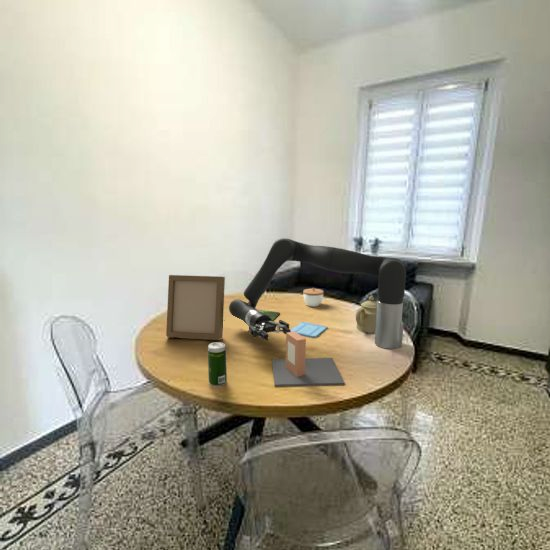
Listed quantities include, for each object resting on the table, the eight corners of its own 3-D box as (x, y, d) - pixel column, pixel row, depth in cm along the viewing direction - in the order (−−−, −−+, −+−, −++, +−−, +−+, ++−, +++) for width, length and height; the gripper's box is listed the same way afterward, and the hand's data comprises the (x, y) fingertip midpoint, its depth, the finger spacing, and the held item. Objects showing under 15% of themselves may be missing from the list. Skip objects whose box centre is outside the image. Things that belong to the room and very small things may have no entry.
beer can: (230, 382, 104) (229, 345, 102) (216, 389, 100) (214, 350, 98) (219, 376, 108) (218, 340, 105) (205, 382, 104) (203, 345, 101)
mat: (332, 359, 120) (332, 357, 120) (344, 384, 103) (344, 382, 103) (271, 360, 118) (271, 359, 118) (274, 386, 102) (274, 384, 102)
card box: (293, 365, 114) (294, 331, 111) (305, 374, 108) (305, 338, 105) (285, 367, 112) (286, 332, 110) (296, 376, 106) (297, 340, 104)
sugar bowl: (381, 338, 139) (384, 302, 135) (354, 334, 142) (355, 299, 139) (383, 326, 152) (385, 293, 149) (357, 323, 156) (359, 291, 153)
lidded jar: (312, 301, 191) (313, 284, 189) (327, 305, 183) (328, 288, 181) (298, 304, 184) (299, 287, 182) (313, 309, 176) (313, 291, 174)
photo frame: (219, 342, 134) (217, 279, 129) (166, 339, 137) (162, 277, 132) (229, 329, 148) (228, 272, 143) (181, 326, 151) (178, 270, 146)
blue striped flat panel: (315, 339, 138) (315, 336, 138) (288, 333, 144) (288, 330, 144) (327, 329, 150) (327, 326, 150) (302, 324, 156) (302, 321, 155)
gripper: (240, 314, 128) (259, 328, 114) (274, 309, 134) (296, 321, 120) (241, 333, 129) (259, 349, 115) (274, 327, 136) (296, 341, 122)
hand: (278, 335), depth 118 cm, fingers open, 8 cm apart
